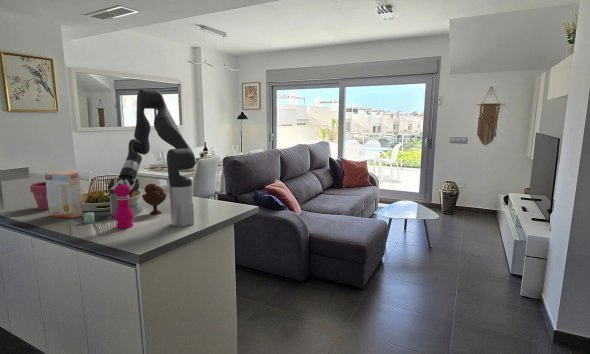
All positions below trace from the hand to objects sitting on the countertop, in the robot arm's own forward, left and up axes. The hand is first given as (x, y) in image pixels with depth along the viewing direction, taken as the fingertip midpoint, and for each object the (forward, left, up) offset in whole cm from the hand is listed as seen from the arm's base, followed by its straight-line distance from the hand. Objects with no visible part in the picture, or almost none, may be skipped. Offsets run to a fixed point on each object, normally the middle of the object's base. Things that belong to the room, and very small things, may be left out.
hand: (119, 197), depth 165 cm
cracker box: (+14, +19, -8) cm, 25 cm away
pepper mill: (-23, +7, -8) cm, 26 cm away
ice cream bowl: (-12, -12, -8) cm, 19 cm away
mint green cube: (-5, +15, -8) cm, 18 cm away
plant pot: (+38, +20, -8) cm, 44 cm away
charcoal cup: (-1, +1, -8) cm, 8 cm away
